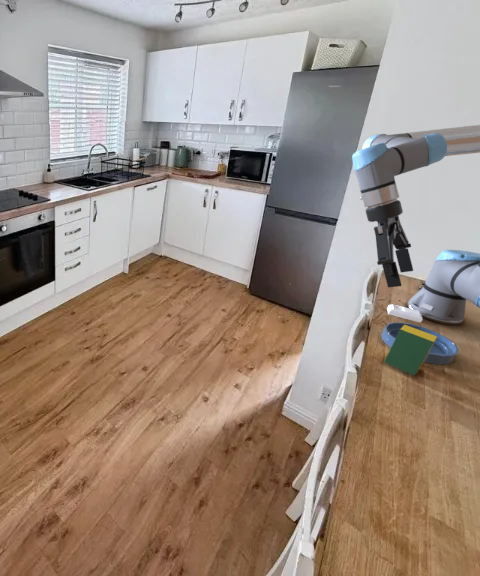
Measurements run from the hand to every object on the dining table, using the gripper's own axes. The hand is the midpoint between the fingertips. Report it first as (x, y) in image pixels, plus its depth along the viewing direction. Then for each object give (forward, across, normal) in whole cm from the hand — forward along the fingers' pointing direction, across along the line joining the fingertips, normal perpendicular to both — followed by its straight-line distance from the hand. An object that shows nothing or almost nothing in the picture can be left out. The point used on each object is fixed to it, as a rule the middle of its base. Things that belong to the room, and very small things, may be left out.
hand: (401, 278), depth 100 cm
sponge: (+23, +8, -3) cm, 24 cm away
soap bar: (+21, -28, -9) cm, 36 cm away
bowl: (+24, -8, -3) cm, 25 cm away
